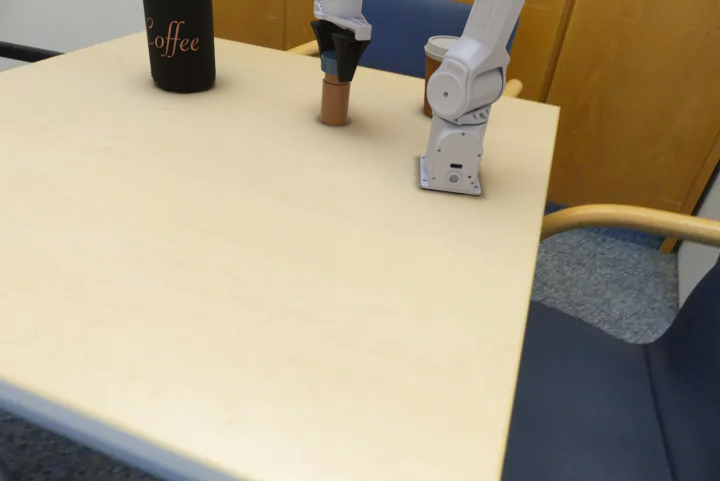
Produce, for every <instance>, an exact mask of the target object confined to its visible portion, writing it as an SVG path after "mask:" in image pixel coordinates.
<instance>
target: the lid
mask: <svg viewBox="0 0 720 481" xmlns="http://www.w3.org/2000/svg"><path fill="white" fill-rule="evenodd" d="M320 70H321V72H323V73H324V74H325V73H327V74H330V75H336V76H337V56H336V50H329V51H325V52H323V53H322V56H321V59H320Z"/></svg>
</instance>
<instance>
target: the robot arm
mask: <svg viewBox="0 0 720 481" xmlns="http://www.w3.org/2000/svg"><path fill="white" fill-rule="evenodd" d="M525 2H526V0H474V1H473V4H472V7H471V9H470V13H469V16H468V18H467V21H466V24H465V26H464V29H463V32H462V34H461V35H460V38H459V40H458V41H457V42H456V43H455V44H454V45H453V46H452V47H451V48H450V49H449V50H448V52H447V53H446V54H445V56H444V59H443V61H442V64H441V65H440V67H439V68H438V69H437V70H436V71H435V72H434V73H433V74H432V76H431V77H430V79H429V81H428V84H427V98H428V102H429V104H430V106H431V108H432V114H433V117H431V118H432V119H431V123H430V129H429V135H428V139H427V146H426V151H425V154H421V155H420V156H419V169H420V170H419V173H420V174H419V175H420V187H421V188H423V189H427V190H435V191H442V192H450V193H458V194H467V195H475V196H479V195H481V193H482V189H481V185H480V181H479V180H480V179H479V170H480V168H481V167H480V166H481V162H482V159H483V154H484V147H483V142H484V139H485V135H486V130H487V126H488V123H489V118H490V114H491V109H492V105H493V104H495V103H497V102H498V101H499V100H500V99H501V97H502V96H503V94H504V92H505V89H506V84H507V79H506V75H507V69H508V67H509V64H510V62H511V57H510V55H509V53H508V51H507V48H506V47H507V44H508V42H509V39H510V37H511V35H512V33H513V30H514V28H515V25H516V23H517V21H518V18H519V16H520V14H521V11H522V9H523V7H524V5H525ZM362 7H363V0H314V2H313V16H314V18H316V20H311V21H310V27H311V29H312V31H313V34H314V36H315V39H316V42H317V46H318V52H319V59H320V60H321V56H322V53H323V52H325V51H329V50H336V56H337V77H338V81H339V82H351V83H352V82H353V78H354V76H355V74H356V71H357V68H358V66H359V64H360V60H361V58H362V56H363V54H364V53H365V51H366V49H367V48H368V47H369V45H370V44H371V42H372V28H373V25H372V24H370V23H368V21H367V20H366V18H365V16H364V15H363V13H362V9H363V8H362ZM317 19H318V20H317Z"/></svg>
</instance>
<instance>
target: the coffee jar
mask: <svg viewBox="0 0 720 481" xmlns="http://www.w3.org/2000/svg"><path fill="white" fill-rule="evenodd" d="M142 4H143V14H144V23H145V31H146V41H147V48H148V57H149V67H150V75H151V78H152V80H153V81H154V83H155V84H156V86H157V87H158V88H161V89H162V90H165V91H168V92H172V93H173V92H174V93H188V94H189V93H197V92H202V91H206V90H208V89H210V88H211V87H212V86H213V84H214V82H215V81H216V78H217V72H216V71H217V69H216V68H217V67H216V51H215V50H216V49H215V48H216V47H215V46H216V45H215V29H214V26H215V25H214V8H213V6H214V4H213V0H142Z"/></svg>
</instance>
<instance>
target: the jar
mask: <svg viewBox="0 0 720 481" xmlns="http://www.w3.org/2000/svg"><path fill="white" fill-rule="evenodd" d="M321 83H322V84H321V100H320V115H319V116H320V117H319V120H320V121H321V122H322V123H323V124H326V125H329V126H344V125H345V124H347V123H348V120H349V107H350V96H351V86H352V82H339V81H338V77H337V76H336V75H330V74H327V73H325V72H324V77H323V78H322V82H321Z"/></svg>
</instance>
